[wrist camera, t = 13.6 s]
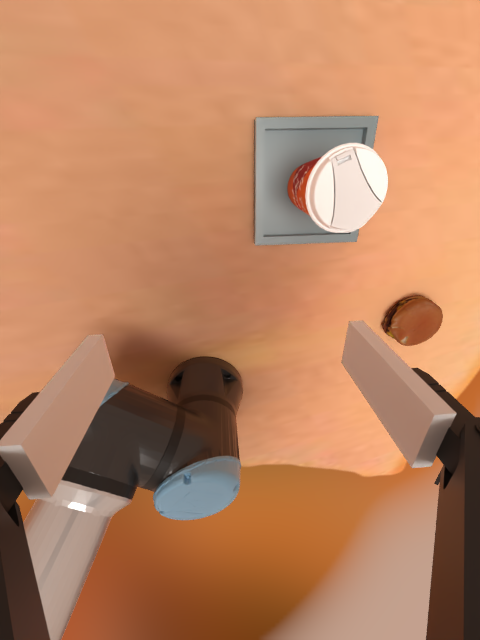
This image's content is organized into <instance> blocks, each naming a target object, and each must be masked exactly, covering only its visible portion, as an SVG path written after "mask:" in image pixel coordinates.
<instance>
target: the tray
mask: <svg viewBox="0 0 480 640" xmlns="http://www.w3.org/2000/svg"><path fill="white" fill-rule="evenodd" d="M378 117H379V116H334V117H256V118H255V120H254V244H255V245H279V244H306V243H333V242H357V237H358V232H359V229H357V230H355V231H352V232H349V233H335V232H329V231H326V230H324V229H322V228H320V227H319V226H318V225H317V224H316V223H315V222H314V221H313V220H312V218H311V217H310V216H309V215H307V214H306V213H305V212H303V211H302V210H300V209H299V208H298V207H296V206H295V205H294V204H293V203H292V202H291V200H290V198H289V196H288V191H287V187H288V181H289V178H290V176H291V175H292V173H293V172H294V171H295V170H296V169H297V168H298V167H299V166H301V165H303V164H305V163H307V162H309V161H312V160H314V159H317V158H319V157H322V156H323V155H325V154H326V153H327V152H328V151H330V150H331V149H333V148H335V147H337V146H339V145H342V144H347V143H360V144H364V145H366V146H368V147H370V148H371V149H373V145H374V140H375V134H376V128H377V123H378Z"/></svg>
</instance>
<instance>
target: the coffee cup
mask: <svg viewBox="0 0 480 640" xmlns="http://www.w3.org/2000/svg"><path fill="white" fill-rule="evenodd" d="M387 186H388V176H387V171H386V167H385V165H384V163H383V161H382V160H381V158H380V157H379V155H378V154H377V153H376V152H375V151H374V150H373V149H371V148H370V147H368V146H366V145H364V144H360V143H347V144H342V145H339V146H337V147H335V148H333V149H331V150H330V151H328V152H327V153H326V154H325V155H323V156H322V157H319V158H317V159H314V160H312V161H309V162H307V163H305V164H303V165H301V166H299V167H298V168H297V169H296V170H295V171H294V172H293V173H292V175H291V176H290V178H289V181H288V187H287V191H288V196H289V198H290V200H291V202H292V203H293V204H294V205H295V206H296V207H298V208H299V209H300V210H302V211H303V212H305V213H306V214H307V215H309V216H310V217H311V218H312V220H313V221H314V222H315V223H316V224H317V225H318V226H319V227H320V228H322V229H324V230H326V231H329V232H335V233H349V232H352V231H355V230H357V229H359V228H360V227H362V226H363V225H365V224H366V223H367V221H368V220H369V219H370V218H371V217H372V216H373V215H374V214H375V212H376V211H377V210H378V209H379V207H380V206H381V204H382V203H383V201H384V198H385V195H386V192H387Z"/></svg>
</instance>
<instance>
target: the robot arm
mask: <svg viewBox="0 0 480 640" xmlns="http://www.w3.org/2000/svg"><path fill="white" fill-rule="evenodd" d="M341 363H342V364H343V366H344V367H345V369H346V370H347V372H348V373H349V375H350V376H351V378H352V379H353V381H354V382H355V384H356V385H357V387H358V388H359V390H360V391H361V393H362V394H363V396H364V397H365V399H366V400H367V402H368V403H369V405H370V406H371V408H372V409H373V411H374V412H375V414H376V415H377V417H378V418H379V420H380V421H381V423H382V424H383V426H384V427H385V429H386V430H387V432H388V433H389V435H390V436H391V438H392V439H393V441H394V442H395V444H396V445H397V447H398V448H399V450H400V451H401V453H402V454H403V456H404V457H405V459H406V460H407V462H408V463H409V465H410V466H411V467H412V468H416V467H428V466H432V464H433V462H434V460H435V458H436V456H437V457H438V458H439V459H440V460H441V462H442V463H443V464H444V465H443V467H442V469H441V471H440V473H439V475H438V477H437V479H436V481H435V484H437V485H438V484H439V482H440V486H439V498H438V509H437V520H436V533H435V544H434V555H433V566H432V578H431V589H430V601H429V612H428V624H427V636H426V640H480V418H479V417H474V416H473V415H472V414H471V413H470V412H469V411H468V410H467V409H466V408H465V407H464V406H462V405H461V404H460V403H459V402H458V401H457V400H456V399H455V398H454V397H453V396H452V395H451V394H450V393H449V392H446V390H445V389H444V388H443V387H442V386H441V385H439V383H438V382H437V381H436V380H435V379H433V378H432V377H431V376H430V375H429V374H427V373H426V372H424V371H422V370H420V369H419V368H410V367H409V366H408V365H407V364H406V363H405V362H404V361H403V360H402V359H401V358H400V357H399V356H398V355H397V354H396V353H395V352H394V351H393V350H392V349H391V348H390V347H389V346H388V345H387V344H386V343H385V342H384V341H383V340H382V339H381V338H380V337H379V336H378V335H377V334H376V333H375V332H374V331H373V330H372V329H371V328H370V327H369V326H368V325H367V324H366V323H365V322H364V321H349V324H348V330H347V335H346V340H345V346H344V351H343V356H342V362H341ZM114 378H115V374H114V370H113V367H112V363H111V360H110V357H109V353H108V350H107V346H106V343H105V340H104V336H103V334H99V335H87V337H86V338H85V339H84V340H83V341H82V343H81V344H80V345H79V346H78V347H77V349H76V350H75V351H74V352H73V353H72V355H71V356H70V357H69V358H68V359H67V361H66V362H65V363H64V364H63V365H62V367H61V368H60V369H59V370H58V371H57V373H56V374H55V375H54V376H53V377H52V379H51V380H50V381H49V382H48V383H47V385H46V386H45V387H44V388H43V389H42V391H41V392H35V393H32V394H31V395H29V396H28V397H26V398H25V399H23V400H22V401H21V402H20V403H19V404H18V405H17V406H16V407H15V408H14V409H13V411H12V412H11V414H9V415H8V416H7V417H6V418H5V420H4V422H3V423H1V424H0V640H61V639H62V636H63V634H64V631H65V629H66V626H67V624H68V621H69V619H70V617H71V614H72V612H73V609H74V607H75V605H76V602H77V600H78V597H79V595H80V592H81V590H82V588H83V585H84V583H85V580H86V578H87V576H88V573H89V571H90V568H91V566H92V563H93V561H94V559H95V556H96V554H97V551H98V549H99V546H100V544H101V542H102V539H103V537H104V534H105V532H106V530H107V527H108V525H109V522H110V520H111V517H112V516H113V515H114V514H115V513H116V512H117V511H119V510H120V509H122V508H123V507H125V506H127V505H128V504H130V503H131V501H132V498H133V496H134V493H135V491H136V488H137V487H141V488H144V489H148V490H151V491H153V492H154V495H153V500H154V506H155V508H156V510H157V511H159V513H160V514H161V515H162V516H165V517H167V518H170V519H176V520H194V519H200V518H204V517H207V516H210V515H213V514H215V513H217V512H219V511H221V510H222V509H224V508H226V507H227V506H228V505H229V504H231V503H232V501H233V500H234V499H235V498H236V496H237V494H238V491H239V488H240V468H241V463H240V459H239V448H238V436H237V424H236V414H237V411H238V408H239V405H240V402H241V399H242V394H243V388H242V380H241V377H240V375H239V373H238V372H237V370H236V369H235V368H234V367H233V366H232V365H230V364H229V363H227V362H225V361H223V360H221V359H217V358H213V357H198V358H193V359H190V360H188V361H185V362H183V363H182V364H180V365H179V366H178V367H177V368H176V369H175V370H174V371H173V373H172V374H171V376H170V379H169V383H168V387H167V397H168V400H165V399H163V398H161V397H158V396H156V395H153V394H151V393H149V392H146V391H144V390H142V389H139V388H137V387H134V386H132V385H130V383H128V382H122V381H119V380H117V379H114ZM22 490H24V492H25V494H26V495H27V497H28V498H29V499H37V500H36V502H35V503H34V505H33V507H32V509H31V510H30V512H29V514H28V516H27V517H26V519H25V521H24V523H23V521H22V516H21V512H20V508H19V505H18V504H17V502H16V499H17V498H18V496H19V495H20V493H21V491H22Z"/></svg>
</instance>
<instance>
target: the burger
mask: <svg viewBox="0 0 480 640" xmlns="http://www.w3.org/2000/svg"><path fill="white" fill-rule="evenodd" d="M442 318H443V315H442V310H441V308H440V307H439V306H437V305H436V304H435V303H433V302H432V301H431V300H429V299H427V298H425V297H423V296H414V297H410V298H407V299H405V300H403V301H401V302H399V303H397V304H396V305H395V306H394V307H393V308H392V310H391V311H390V312H389V313H388V315H387V317H386V318H385V323H384V324H383V329H385V333H386V334H388V335H389V336H391V337H392V338H395V339H396V340H397V342H399V343H400V344H402V345H405V346H412V345H417V344H420V343H422V342H424V341H426V340H428V339H429V338H431V337H432V336H433V335H434V334H435V333H436V332H437V331H438V329H439V328H440V326H441V323H442Z"/></svg>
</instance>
